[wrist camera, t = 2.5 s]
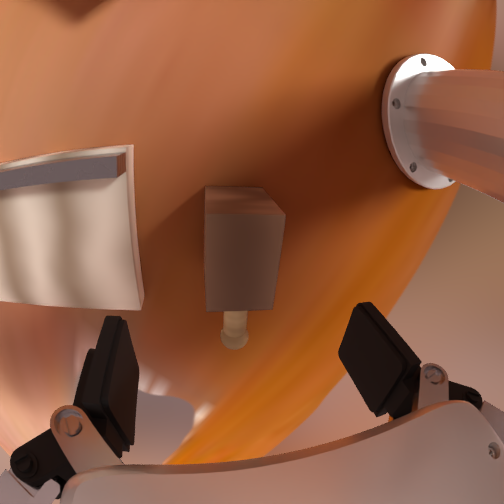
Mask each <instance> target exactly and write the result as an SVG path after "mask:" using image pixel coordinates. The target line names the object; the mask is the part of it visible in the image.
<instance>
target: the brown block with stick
mask: <svg viewBox="0 0 504 504" xmlns="http://www.w3.org/2000/svg"><path fill="white" fill-rule="evenodd" d="M285 219H286V215H285V213H284V212H283V211H282V210H281V209H280V208H279V206H278V205H277V204H276V203H275V202H274V201H273V199H272V198H271V197H270V196H269V195H268V194H267V192H266V191H265V190H264V189H263V188H261V187H234V186H205V208H204V279H205V299H206V312H224V322H223V329H222V330H221V334H220V338H221V341H222V343H223V344H224V345H225V346H226V347H227V348H229V349H233V350H236V349H240V348H242V347H243V346H244V345H245V344H246V343H247V341H248V331H247V329H246V327H247V316H248V311H253V310H273V303H274V297H275V290H276V284H277V277H278V270H279V263H280V256H281V249H282V242H283V234H284V227H285Z"/></svg>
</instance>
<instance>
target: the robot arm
mask: <svg viewBox="0 0 504 504" xmlns="http://www.w3.org/2000/svg"><path fill="white" fill-rule="evenodd" d="M382 122H383V129H384V135H385V138H386V141H387V145H388V148H389V150H390V152H391V155H392V157H393V159H394V161H395V162H396V164H397V165H398V167H399V169H400V170H401V171H402V172H403V173H404V174H405V175H406V176H407V177H408V178H409V179H410V180H412V181H413V182H415V183H417V184H419V185H421V186H423V187H426V188H430V189H442V188H445V187H448V186H450V185H451V184H453V183H454V182H456V181H457V182H459V183H462V184H464V185H466V186H469V187H471V188H473V189H475V190H478V191H480V192H482V193H484V194H486V195H488V196H491V197H493V198H495V199H497V200H499V201H501V202H503V203H504V71H493V70H473V69H454V68H453V67H452V66H451V65H450V64H449V63H447V62H446V61H445V60H443V59H442V58H439V57H437V56H435V55H431V54H415V55H411V56H407V57H405V58H404V59H402V60H400V61H399V62H398V63H397V64H396V65H395V67H394V68H393V69H392V71H391V72H390V74H389V76H388V78H387V81H386V84H385V87H384V91H383V99H382ZM338 354H339V358H340V360H341V361H342V363H343V365H344V366H345V368H346V370H347V372H348V373H349V375H350V377H351V378H352V380H353V382H354V384H355V385H356V387H357V389H358V390H359V392H360V394H361V395H362V397H363V399H364V401H365V403H366V404H367V406H368V408H369V410H370V411H371V412H374V414H375V415H376V417H379V416H381V415H384V414H386V413H387V412H388V413H389V415H390V416H389V420H388V423H385V424H383V425H380V426H377V427H375V428H373V429H369V430H367V431H364V432H361V433H358V434H355V435H353V436H349V437H346V438H343V439H339V440H337V441H333V442H329V443H326V444H322V445H318V446H315V447H311V448H307V449H303V450H298V451H293V452H289V453H284V454H279V455H273V456H268V457H261V458H255V459H248V460H240V461H231V462H220V463H206V464H185V465H134V464H133V465H125V464H124V463H123V462H122V461H121V460H120V458H121V457H122V451H127V452H129V449H130V445H134V436H135V417H136V404H137V392H138V382H139V366H138V363H137V359H136V356H135V352H134V349H133V345H132V341H131V337H130V333H129V329H128V325H127V322H126V320H122V318H121V316H106V318H105V320H104V323H103V326H102V330H101V333H100V336H99V339H98V342H97V345H96V349H89V350H88V353H87V356H86V359H85V362H84V365H83V369H82V372H81V376H80V380H79V383H78V387H77V391H76V395H75V399H74V403H73V405H65V406H62V407H60V408H58V409H57V410H55V412H54V413H53V414H52V416H51V419H50V427H51V428H50V429H48V430H47V431H45V432H44V433H42V434H40V435H39V436H37V437H35V438H34V439H32V440H30V441H29V442H27V443H25V444H24V445H22V446H20V447H19V448H17V449H16V450H15V451H14V452H13V453H12V455H11V459H10V465H11V468H10V470H9V471H8V470H6V469H5V471H4V472H3V473H2V474H1V476H0V504H52V502H53V501H54V500H55V499H60V498H61V499H60V504H504V412H503V411H501V410H500V409H498V408H496V407H495V406H493V405H491V404H490V403H488V402H486V401H484V402H483V403H482V397H481V395H480V394H479V392H477V391H476V390H475V389H473V388H471V387H467V386H464V385H461V384H458V383H454V382H451V381H448V375H447V373H446V371H445V370H444V369H443V368H442V367H440V366H439V365H437V364H433V363H429V364H425V365H423V367H422V368H421V367H420V366H419V365H420V363H421V361H420V359H419V358H418V357H417V356H416V354H415V353H414V352H413V351H412V349H411V348H410V347H409V346H408V345H407V343H406V342H405V341H404V340H403V339H402V337H401V336H400V335H399V334H398V333H397V331H396V330H395V329H394V328H393V327H392V326H391V324H390V323H389V322H388V321H387V320H386V319H385V317H384V316H383V315H382V314H381V313H380V312H379V310H378V309H377V308H376V307H375V306H374V305H373V304H372V303H371V302H363V303H358V304H357V305H356V307H354V309H353V311H352V314H351V317H350V320H349V323H348V326H347V329H346V332H345V334H344V337H343V340H342V343H341V345H340V348H339V351H338Z"/></svg>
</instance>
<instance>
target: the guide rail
mask: <svg viewBox="0 0 504 504" xmlns="http://www.w3.org/2000/svg"><path fill="white" fill-rule="evenodd" d="M124 172H126V152H118V153H106V154H95V155H85V156H76V157H68V158H61V159H54V160H47V161H41V162H35V163H29V164H24V165H19V166H14V167H9V168H4V169H0V190H6V189H12V188H19V187H26V186H33V185H41V184H49V183H58V182H67V181H78V180H90V179H104V178H117V177H119V176H120V175H122V174H123V173H124Z"/></svg>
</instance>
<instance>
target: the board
mask: <svg viewBox="0 0 504 504" xmlns="http://www.w3.org/2000/svg"><path fill="white" fill-rule="evenodd" d="M118 152H126V172H124V173H123V174H122V175H120V176H119V177H117V178H104V179H90V180H78V181H67V182H58V183H49V184H41V185H33V186H26V187H19V188H12V189H6V190H0V301H5V302H14V303H23V304H33V305H44V306H57V307H71V308H88V309H110V310H141V309H142V305H143V300H144V296H145V294H144V287H143V280H142V273H141V265H140V256H139V247H138V237H137V225H136V211H135V192H134V144H132V145H117V146H105V147H95V148H86V149H77V150H70V151H63V152H56V153H50V154H44V155H38V156H33V157H27V158H22V159H18V160H13V161H8V162H4V163H0V169H4V168H9V167H14V166H19V165H24V164H29V163H35V162H41V161H47V160H54V159H61V158H68V157H76V156H85V155H95V154H106V153H118Z"/></svg>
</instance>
